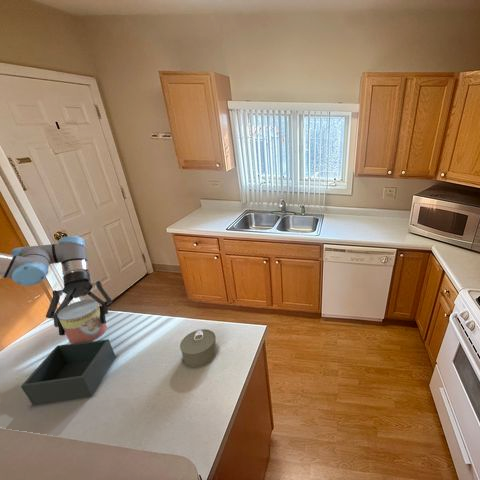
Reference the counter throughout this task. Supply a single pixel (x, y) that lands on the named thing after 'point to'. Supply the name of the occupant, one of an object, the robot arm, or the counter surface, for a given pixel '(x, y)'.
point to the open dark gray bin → (69, 372)
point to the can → (199, 348)
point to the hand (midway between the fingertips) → (83, 328)
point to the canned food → (82, 321)
